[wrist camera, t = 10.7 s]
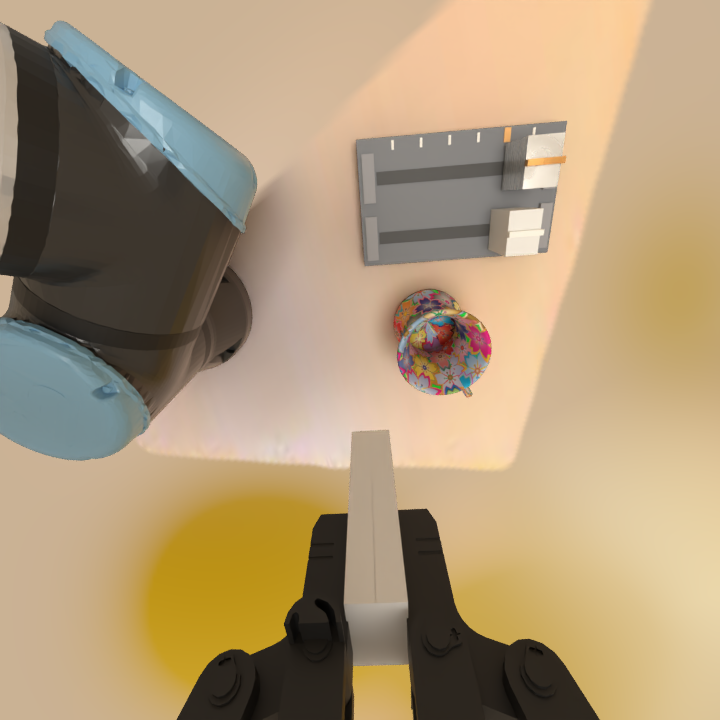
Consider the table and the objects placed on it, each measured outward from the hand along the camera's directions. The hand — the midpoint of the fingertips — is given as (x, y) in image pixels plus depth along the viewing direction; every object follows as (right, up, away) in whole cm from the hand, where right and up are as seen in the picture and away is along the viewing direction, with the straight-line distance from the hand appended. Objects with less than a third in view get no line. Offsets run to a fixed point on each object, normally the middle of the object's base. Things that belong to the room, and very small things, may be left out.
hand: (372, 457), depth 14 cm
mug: (+9, +8, +30) cm, 32 cm away
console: (+10, +22, +23) cm, 33 cm away
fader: (+15, +23, +19) cm, 34 cm away
